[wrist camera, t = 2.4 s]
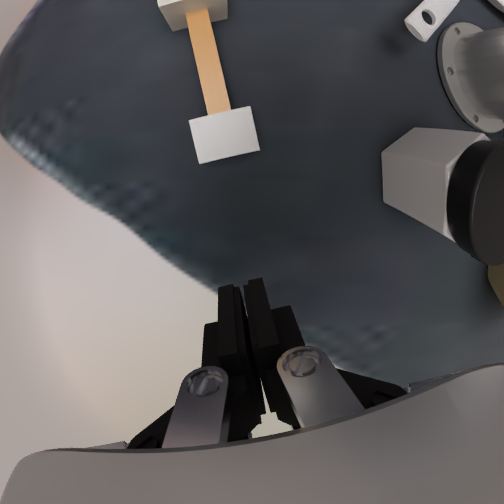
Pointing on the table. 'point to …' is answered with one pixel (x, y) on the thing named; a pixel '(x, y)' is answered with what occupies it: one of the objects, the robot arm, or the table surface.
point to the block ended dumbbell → (211, 83)
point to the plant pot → (497, 280)
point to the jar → (450, 187)
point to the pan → (435, 16)
